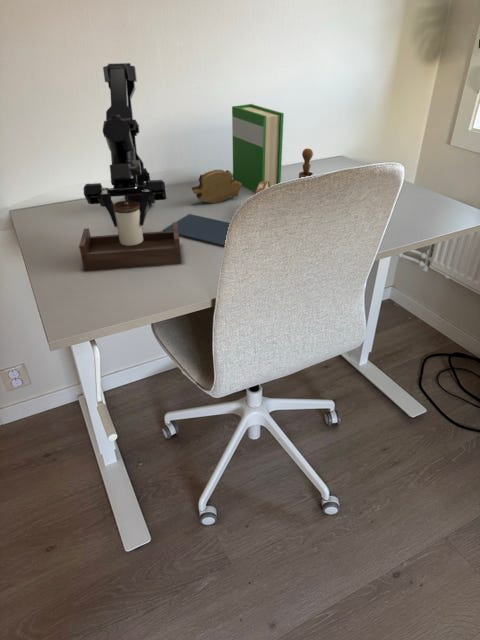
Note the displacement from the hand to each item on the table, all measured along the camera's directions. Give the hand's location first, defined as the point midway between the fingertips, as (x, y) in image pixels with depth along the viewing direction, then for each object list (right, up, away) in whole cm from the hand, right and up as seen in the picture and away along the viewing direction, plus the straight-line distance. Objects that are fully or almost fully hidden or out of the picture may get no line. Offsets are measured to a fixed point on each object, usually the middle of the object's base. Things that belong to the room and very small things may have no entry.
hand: (128, 225), depth 110 cm
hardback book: (+32, +24, +50) cm, 64 cm away
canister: (0, -3, +4) cm, 5 cm away
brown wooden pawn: (+46, +11, +31) cm, 56 cm away
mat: (+17, +3, +19) cm, 26 cm away
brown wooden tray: (0, -7, +6) cm, 9 cm away
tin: (+33, +10, +29) cm, 45 cm away
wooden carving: (+19, +15, +38) cm, 45 cm away
